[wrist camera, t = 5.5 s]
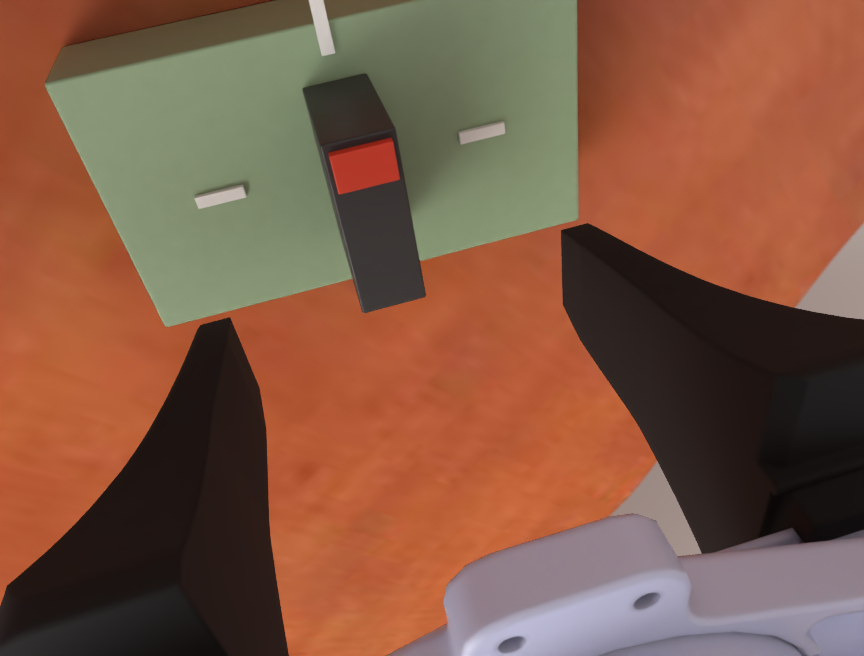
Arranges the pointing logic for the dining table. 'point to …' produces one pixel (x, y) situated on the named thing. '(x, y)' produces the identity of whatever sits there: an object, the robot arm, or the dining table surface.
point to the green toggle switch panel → (295, 143)
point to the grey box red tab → (366, 190)
